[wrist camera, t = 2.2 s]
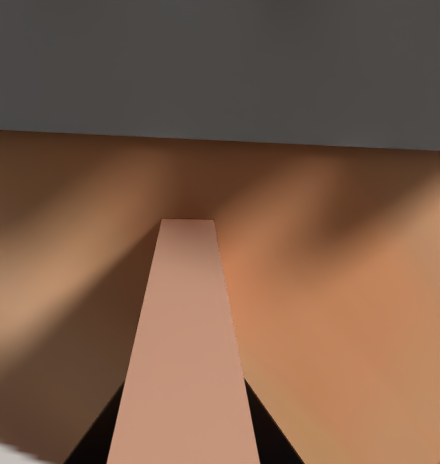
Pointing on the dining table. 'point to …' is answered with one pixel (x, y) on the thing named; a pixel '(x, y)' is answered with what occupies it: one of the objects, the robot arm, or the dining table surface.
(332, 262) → the dining table surface
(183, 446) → the domino
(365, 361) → the dining table surface
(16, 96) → the mat
